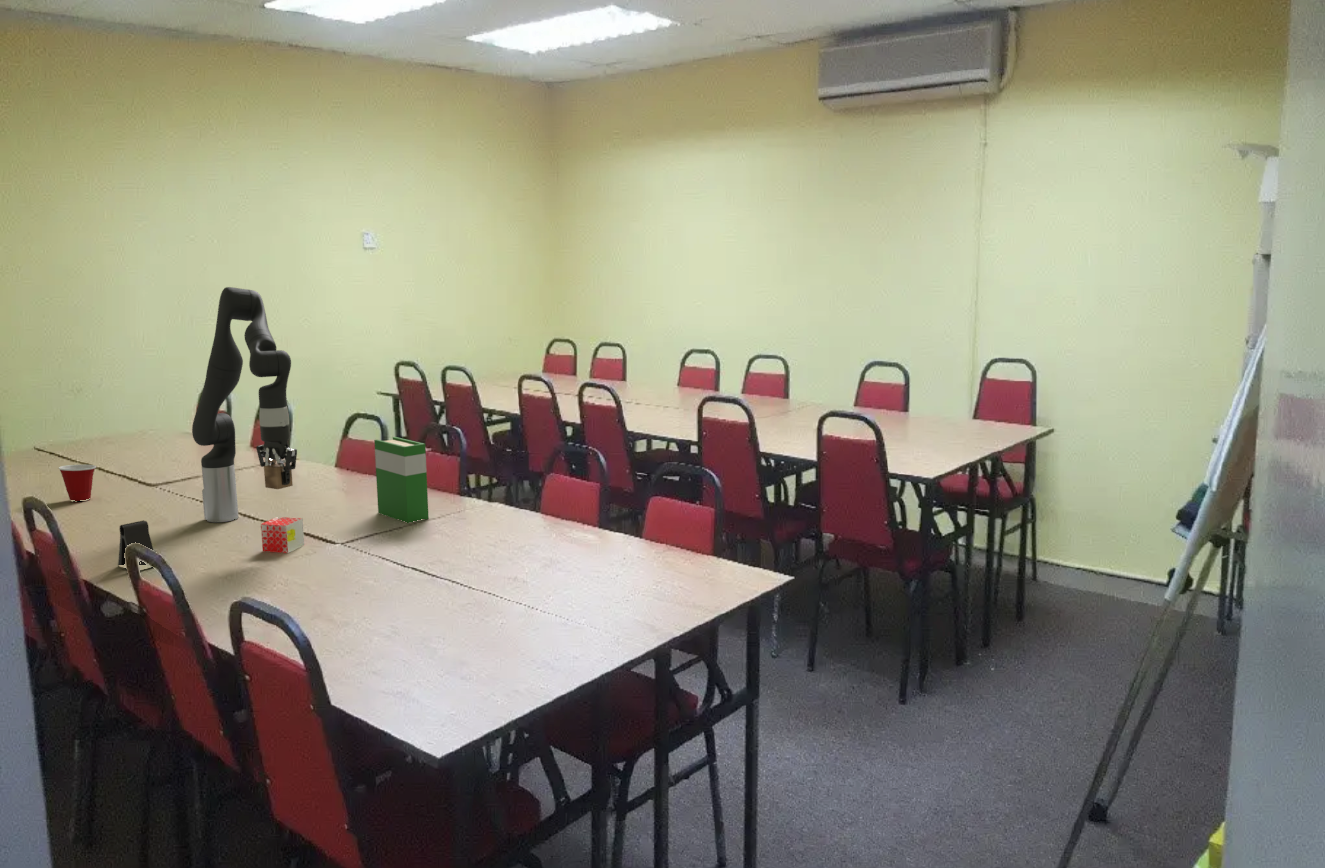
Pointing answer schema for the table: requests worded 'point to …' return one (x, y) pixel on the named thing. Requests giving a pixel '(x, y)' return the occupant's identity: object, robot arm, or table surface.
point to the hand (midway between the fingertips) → (279, 483)
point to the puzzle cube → (282, 534)
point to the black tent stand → (133, 537)
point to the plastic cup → (78, 480)
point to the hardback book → (401, 479)
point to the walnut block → (275, 477)
